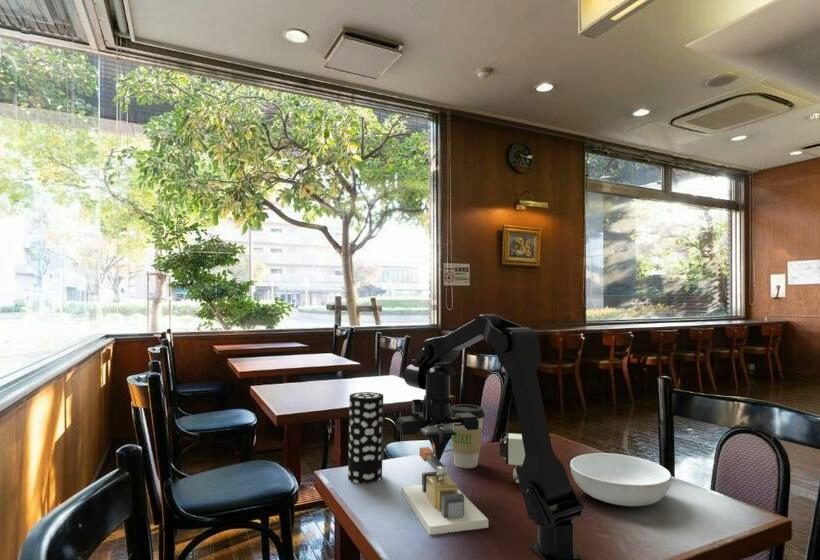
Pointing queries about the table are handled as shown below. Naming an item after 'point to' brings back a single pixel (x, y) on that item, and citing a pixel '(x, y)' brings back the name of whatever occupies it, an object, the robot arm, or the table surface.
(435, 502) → the valve pipe run
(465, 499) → the base plate
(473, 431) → the coffee cup
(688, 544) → the table surface
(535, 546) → the robot arm
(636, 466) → the serving bowl
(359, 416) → the spotted tube
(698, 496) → the table surface
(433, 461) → the valve lever
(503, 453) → the pneumatic valve
